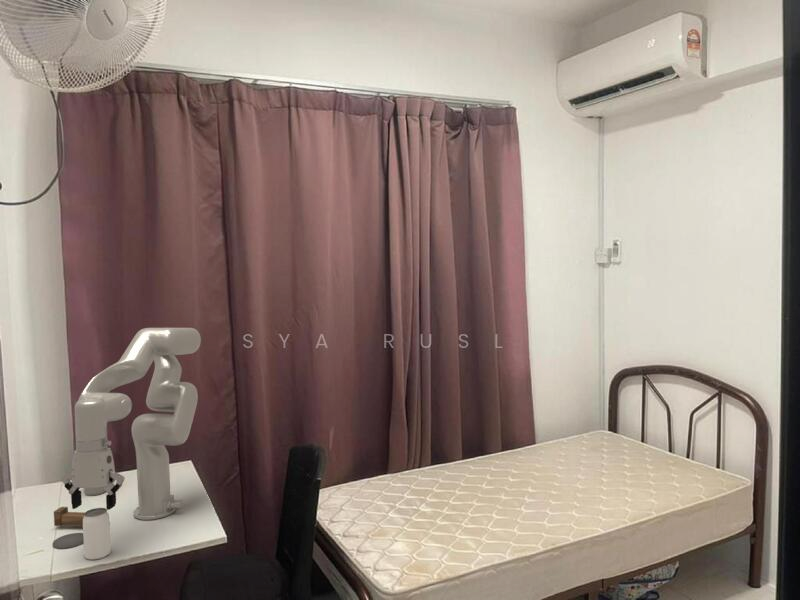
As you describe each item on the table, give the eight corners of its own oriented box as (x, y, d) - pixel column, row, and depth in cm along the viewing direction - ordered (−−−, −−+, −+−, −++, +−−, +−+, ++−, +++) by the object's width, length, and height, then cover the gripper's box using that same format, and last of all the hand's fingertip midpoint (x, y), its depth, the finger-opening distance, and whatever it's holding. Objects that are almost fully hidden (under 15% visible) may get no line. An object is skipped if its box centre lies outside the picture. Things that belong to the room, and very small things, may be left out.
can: (81, 554, 166) (78, 512, 165) (106, 546, 170) (104, 505, 169) (89, 563, 161) (86, 519, 160) (114, 554, 166) (112, 511, 165)
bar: (88, 527, 181) (88, 512, 180) (54, 525, 182) (53, 511, 182) (96, 521, 184) (95, 507, 184) (62, 520, 186) (61, 506, 185)
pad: (94, 534, 178) (94, 533, 178) (75, 549, 169) (75, 547, 169) (65, 534, 179) (65, 532, 179) (45, 548, 170) (45, 546, 170)
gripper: (129, 441, 166) (131, 503, 167) (70, 440, 168) (72, 501, 169) (114, 449, 159) (116, 513, 160) (52, 448, 160) (54, 512, 161)
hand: (93, 507), depth 164 cm, fingers open, 9 cm apart
